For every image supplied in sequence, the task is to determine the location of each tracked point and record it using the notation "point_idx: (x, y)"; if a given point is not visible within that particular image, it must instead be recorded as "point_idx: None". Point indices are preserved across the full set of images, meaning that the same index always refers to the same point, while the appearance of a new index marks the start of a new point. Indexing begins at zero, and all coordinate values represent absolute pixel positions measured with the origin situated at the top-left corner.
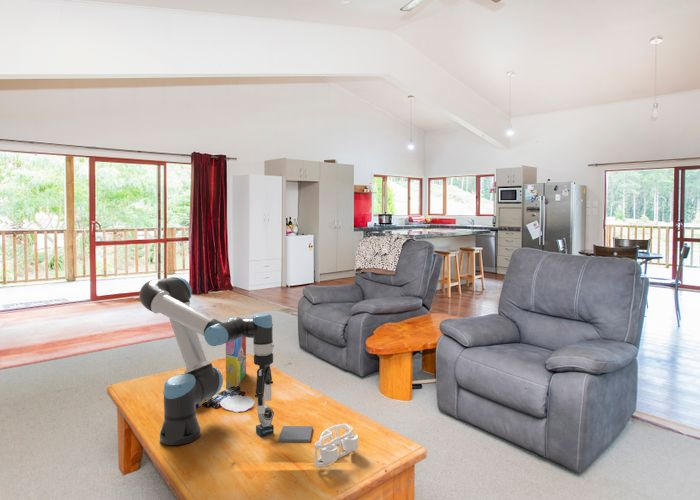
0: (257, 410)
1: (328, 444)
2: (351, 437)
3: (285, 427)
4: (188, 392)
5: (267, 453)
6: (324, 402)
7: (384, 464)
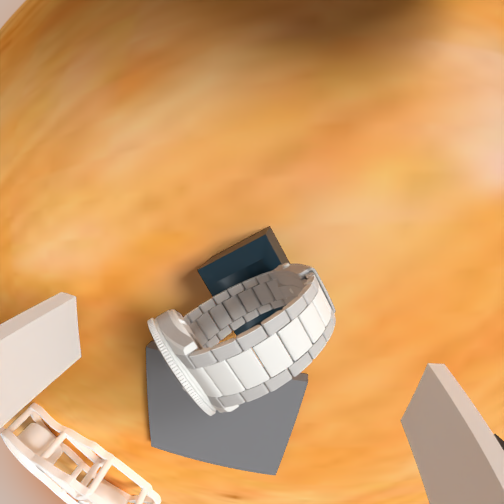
0: (41, 304)
1: (20, 459)
2: None
3: (284, 391)
4: None
5: (61, 287)
6: None
7: None
